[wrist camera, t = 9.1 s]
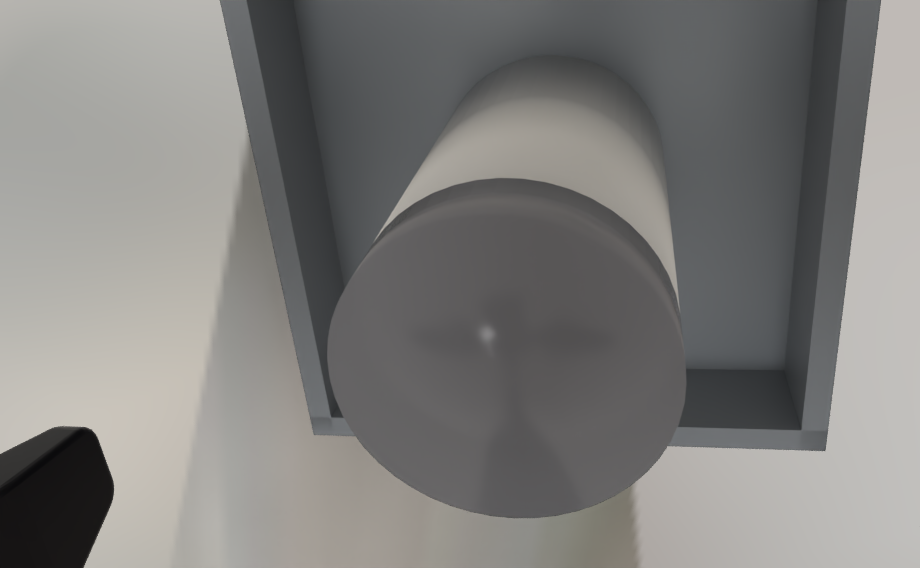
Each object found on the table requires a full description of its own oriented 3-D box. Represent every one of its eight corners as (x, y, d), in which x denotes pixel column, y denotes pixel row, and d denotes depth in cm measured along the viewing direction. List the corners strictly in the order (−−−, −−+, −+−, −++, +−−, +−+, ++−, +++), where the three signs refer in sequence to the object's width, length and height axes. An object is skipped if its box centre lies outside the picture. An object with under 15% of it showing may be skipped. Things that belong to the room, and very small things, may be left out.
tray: (799, 369, 20) (825, 451, 17) (351, 363, 22) (313, 435, 19) (852, -157, 15) (900, -155, 12) (266, -98, 17) (201, -85, 15)
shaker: (662, 263, 18) (682, 525, 11) (454, 265, 19) (356, 511, 12) (665, 48, 16) (691, 210, 9) (431, 62, 17) (297, 219, 10)
